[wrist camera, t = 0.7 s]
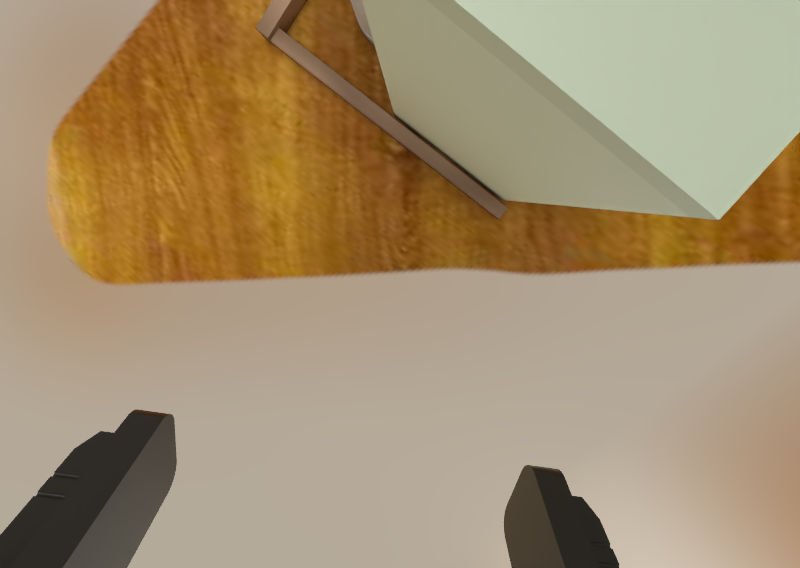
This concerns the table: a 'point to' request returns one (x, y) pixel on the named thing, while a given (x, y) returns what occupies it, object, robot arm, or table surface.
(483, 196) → the rails
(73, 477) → the robot arm
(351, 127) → the table surface
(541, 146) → the hood
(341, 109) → the table surface
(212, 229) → the table surface
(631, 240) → the table surface
